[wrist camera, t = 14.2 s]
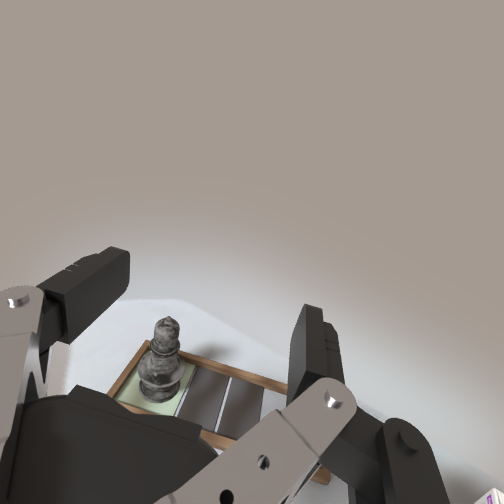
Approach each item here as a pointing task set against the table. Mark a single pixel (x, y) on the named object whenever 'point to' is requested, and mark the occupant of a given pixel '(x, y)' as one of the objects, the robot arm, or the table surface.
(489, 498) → the syrup box
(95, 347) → the table surface
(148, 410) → the tray
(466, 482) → the table surface
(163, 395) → the salt shaker
